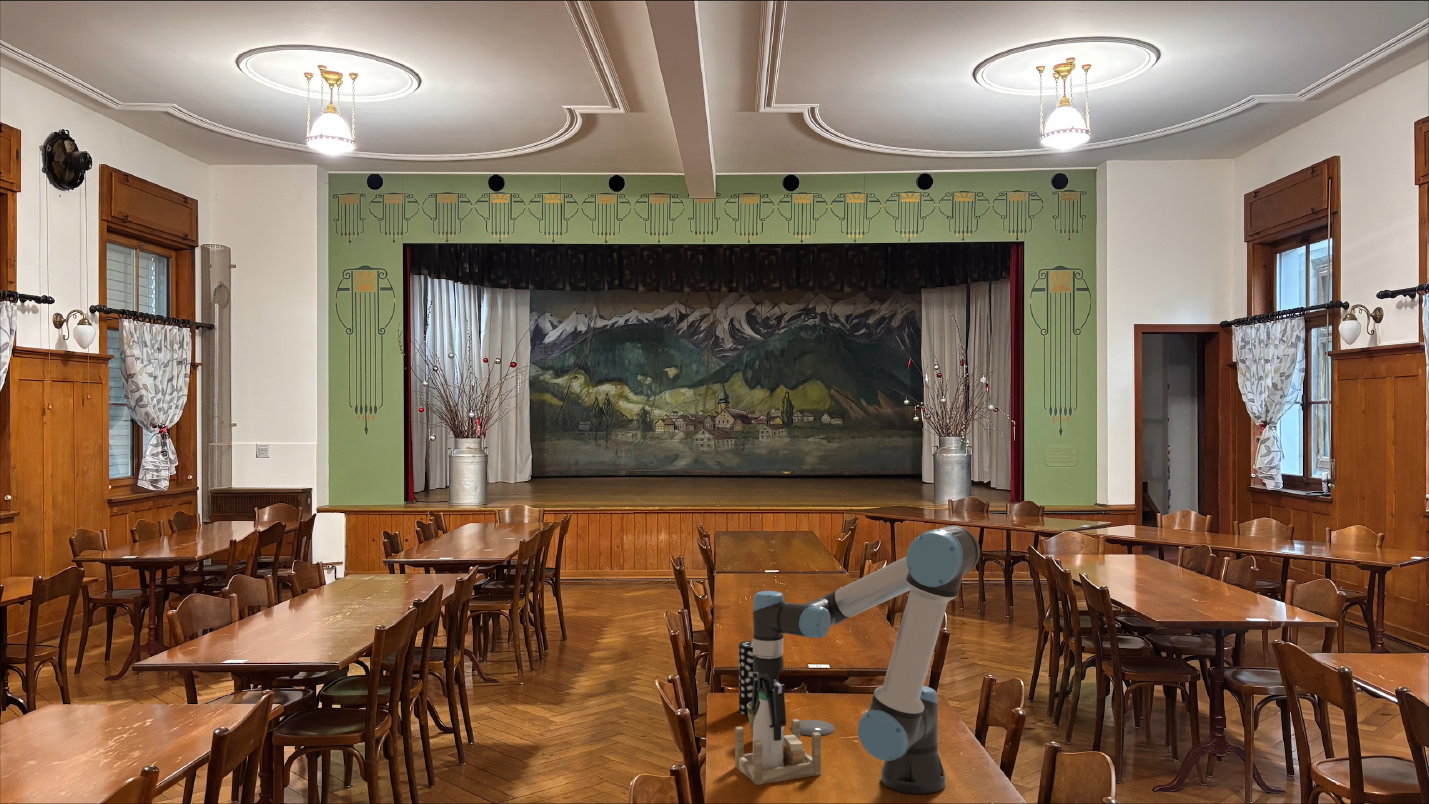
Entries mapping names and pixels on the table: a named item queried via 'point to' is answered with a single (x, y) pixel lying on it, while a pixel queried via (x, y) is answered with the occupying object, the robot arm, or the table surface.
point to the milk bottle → (766, 735)
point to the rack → (777, 773)
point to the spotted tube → (745, 675)
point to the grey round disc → (815, 727)
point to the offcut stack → (793, 750)
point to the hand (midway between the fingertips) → (768, 747)
